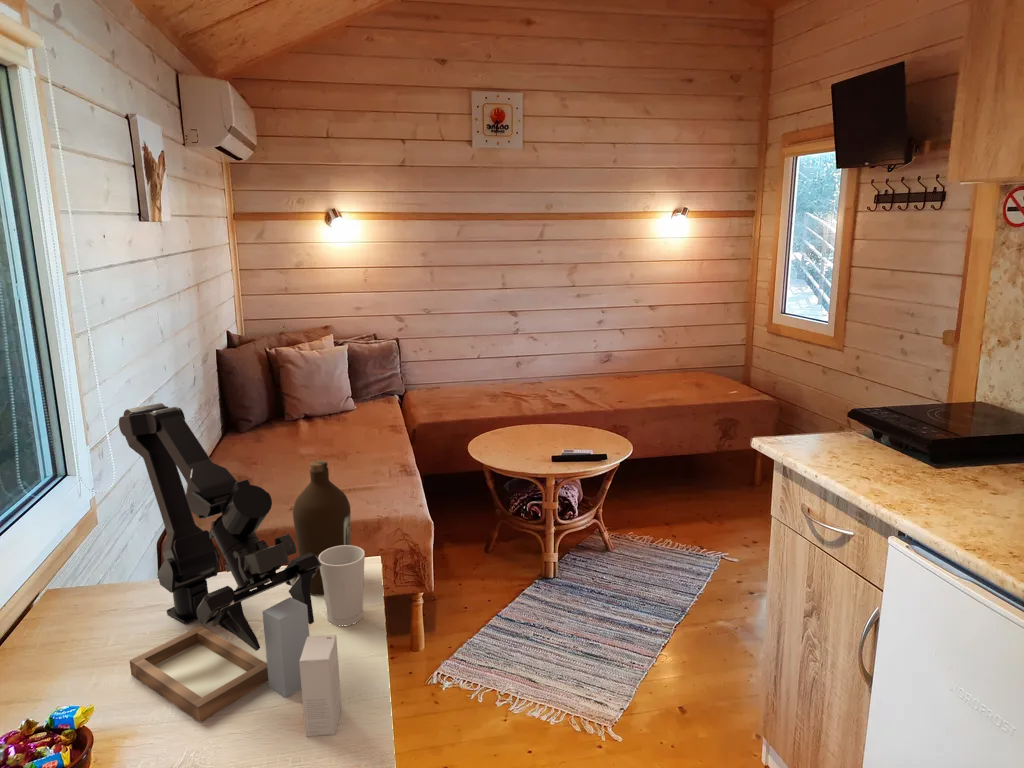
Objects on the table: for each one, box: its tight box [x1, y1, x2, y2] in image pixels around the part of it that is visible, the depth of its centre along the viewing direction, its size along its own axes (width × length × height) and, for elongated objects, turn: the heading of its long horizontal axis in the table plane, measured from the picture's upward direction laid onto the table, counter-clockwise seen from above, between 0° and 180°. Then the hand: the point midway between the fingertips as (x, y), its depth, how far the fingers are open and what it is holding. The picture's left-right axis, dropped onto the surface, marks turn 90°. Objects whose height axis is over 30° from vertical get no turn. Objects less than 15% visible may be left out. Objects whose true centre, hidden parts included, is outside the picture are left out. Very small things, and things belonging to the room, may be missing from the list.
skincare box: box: [299, 634, 342, 737], centre depth 101 cm, size 6×4×12 cm
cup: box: [318, 544, 366, 627], centre depth 128 cm, size 8×8×12 cm
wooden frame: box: [129, 625, 269, 723], centre depth 112 cm, size 19×12×2 cm, turn 54°
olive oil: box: [292, 459, 352, 596], centre depth 138 cm, size 11×11×25 cm
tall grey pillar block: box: [262, 596, 310, 699], centre depth 109 cm, size 4×5×13 cm
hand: (286, 635), depth 109 cm, fingers open, 9 cm apart
